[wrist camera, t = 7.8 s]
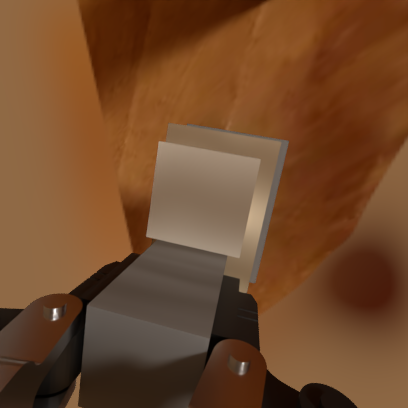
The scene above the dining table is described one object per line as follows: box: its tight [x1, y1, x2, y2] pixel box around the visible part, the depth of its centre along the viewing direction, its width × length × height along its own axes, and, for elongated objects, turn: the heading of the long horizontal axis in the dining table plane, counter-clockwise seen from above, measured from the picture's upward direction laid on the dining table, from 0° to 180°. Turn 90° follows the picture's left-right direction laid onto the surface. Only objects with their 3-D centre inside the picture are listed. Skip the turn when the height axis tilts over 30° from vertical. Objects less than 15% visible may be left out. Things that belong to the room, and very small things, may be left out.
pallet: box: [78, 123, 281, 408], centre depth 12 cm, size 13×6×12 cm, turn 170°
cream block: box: [146, 141, 261, 258], centre depth 12 cm, size 4×4×4 cm
